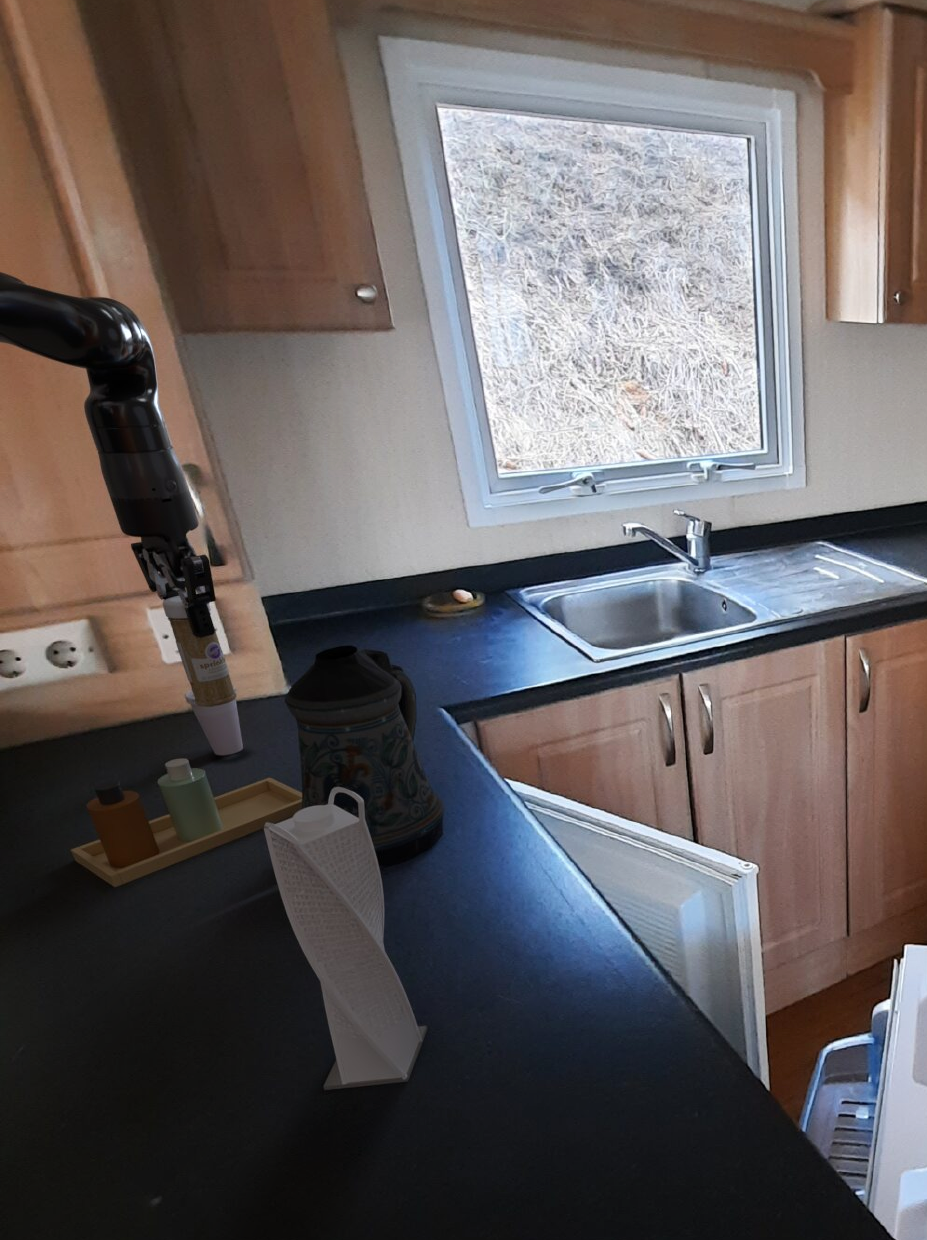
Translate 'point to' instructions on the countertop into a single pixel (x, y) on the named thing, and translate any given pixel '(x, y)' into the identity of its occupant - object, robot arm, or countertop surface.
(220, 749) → the smoothie
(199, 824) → the sage bottle
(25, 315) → the robot arm
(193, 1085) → the countertop surface
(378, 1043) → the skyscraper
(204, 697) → the sprinkles bottle
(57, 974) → the countertop surface
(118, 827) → the amber bottle
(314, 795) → the beer stein
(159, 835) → the tray
